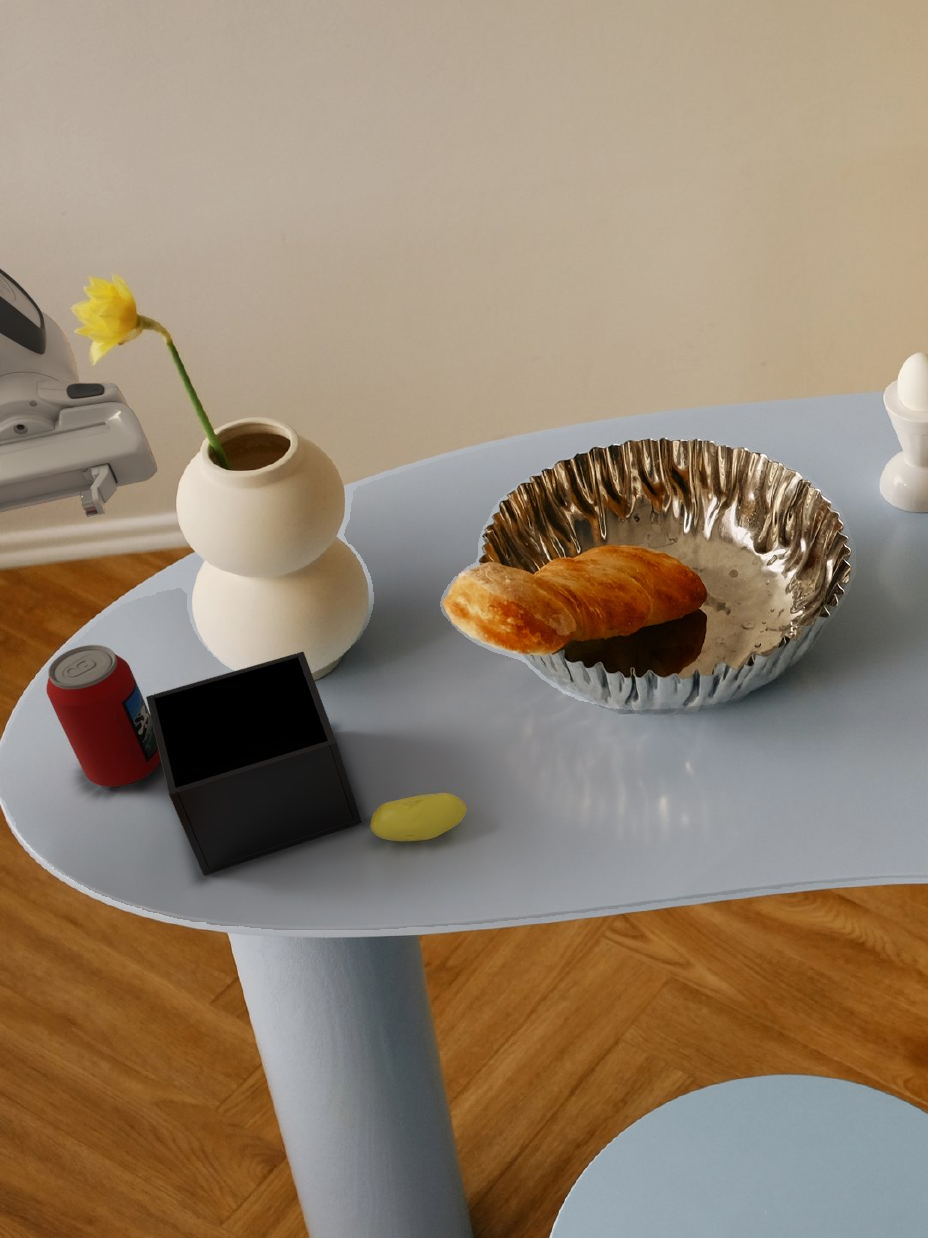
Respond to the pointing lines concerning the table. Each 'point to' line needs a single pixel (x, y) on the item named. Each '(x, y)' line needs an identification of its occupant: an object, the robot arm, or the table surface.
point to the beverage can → (103, 715)
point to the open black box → (251, 762)
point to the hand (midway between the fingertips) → (35, 522)
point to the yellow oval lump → (418, 817)
